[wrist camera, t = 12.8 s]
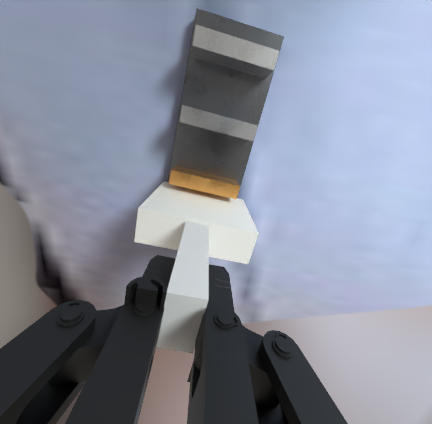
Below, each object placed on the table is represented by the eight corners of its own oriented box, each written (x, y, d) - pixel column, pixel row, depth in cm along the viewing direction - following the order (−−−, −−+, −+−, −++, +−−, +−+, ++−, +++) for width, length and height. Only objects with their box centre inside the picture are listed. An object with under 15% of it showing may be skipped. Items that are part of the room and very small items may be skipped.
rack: (197, 15, 17) (194, -15, 13) (279, 42, 17) (296, 20, 14) (160, 235, 23) (151, 251, 20) (220, 247, 24) (222, 265, 21)
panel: (163, 181, 20) (138, 207, 13) (242, 199, 21) (258, 233, 14) (159, 205, 21) (134, 241, 14) (236, 221, 22) (248, 264, 15)
